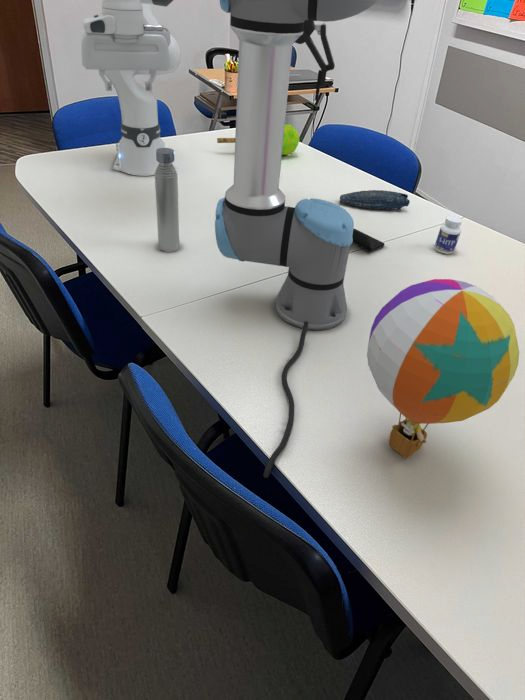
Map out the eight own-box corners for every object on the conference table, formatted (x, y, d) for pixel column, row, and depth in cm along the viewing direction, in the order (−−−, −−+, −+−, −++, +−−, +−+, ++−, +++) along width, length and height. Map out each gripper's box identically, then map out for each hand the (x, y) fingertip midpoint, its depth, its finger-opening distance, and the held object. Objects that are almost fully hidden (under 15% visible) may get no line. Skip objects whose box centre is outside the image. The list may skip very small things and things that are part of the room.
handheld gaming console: (388, 238, 139) (380, 215, 131) (377, 260, 138) (367, 239, 130) (351, 229, 145) (341, 207, 137) (340, 251, 144) (328, 230, 136)
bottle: (159, 252, 128) (154, 156, 113) (157, 242, 132) (152, 148, 117) (180, 251, 129) (178, 156, 114) (178, 241, 133) (175, 148, 118)
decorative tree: (214, 118, 187) (294, 118, 193) (214, 147, 194) (292, 146, 199) (220, 132, 174) (307, 132, 179) (220, 164, 180) (304, 162, 185)
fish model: (408, 214, 157) (412, 198, 153) (339, 207, 158) (341, 191, 154) (406, 206, 162) (410, 190, 159) (339, 199, 163) (341, 183, 160)
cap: (157, 164, 115) (156, 153, 113) (155, 157, 118) (154, 147, 116) (175, 163, 116) (175, 153, 114) (173, 157, 119) (172, 147, 117)
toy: (318, 439, 84) (351, 278, 65) (393, 389, 94) (440, 239, 76) (417, 524, 73) (492, 360, 54) (489, 457, 83) (573, 301, 65)
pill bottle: (433, 251, 139) (442, 220, 133) (435, 243, 143) (444, 213, 137) (453, 256, 138) (464, 225, 132) (454, 247, 142) (465, 217, 136)
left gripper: (167, 23, 122) (170, 87, 131) (76, 19, 117) (85, 86, 125) (172, 27, 118) (174, 93, 126) (77, 23, 112) (86, 93, 121)
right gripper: (354, 0, 122) (339, 98, 135) (249, -10, 123) (244, 87, 137) (353, 3, 116) (338, 105, 129) (244, -8, 117) (239, 94, 131)
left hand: (129, 90), depth 126 cm, fingers open, 8 cm apart
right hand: (290, 96), depth 133 cm, fingers open, 13 cm apart
